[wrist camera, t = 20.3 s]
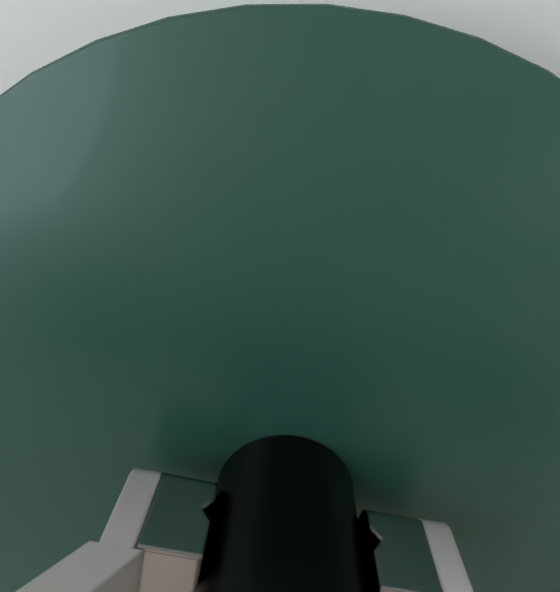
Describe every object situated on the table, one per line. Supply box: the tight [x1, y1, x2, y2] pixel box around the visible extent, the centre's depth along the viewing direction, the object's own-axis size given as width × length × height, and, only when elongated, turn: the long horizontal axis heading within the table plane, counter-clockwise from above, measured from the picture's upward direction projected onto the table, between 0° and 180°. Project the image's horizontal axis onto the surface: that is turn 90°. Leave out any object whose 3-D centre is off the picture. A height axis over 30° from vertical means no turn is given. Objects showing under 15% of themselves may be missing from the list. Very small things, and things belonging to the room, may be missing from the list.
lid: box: [0, 4, 560, 592], centre depth 9 cm, size 16×16×5 cm
